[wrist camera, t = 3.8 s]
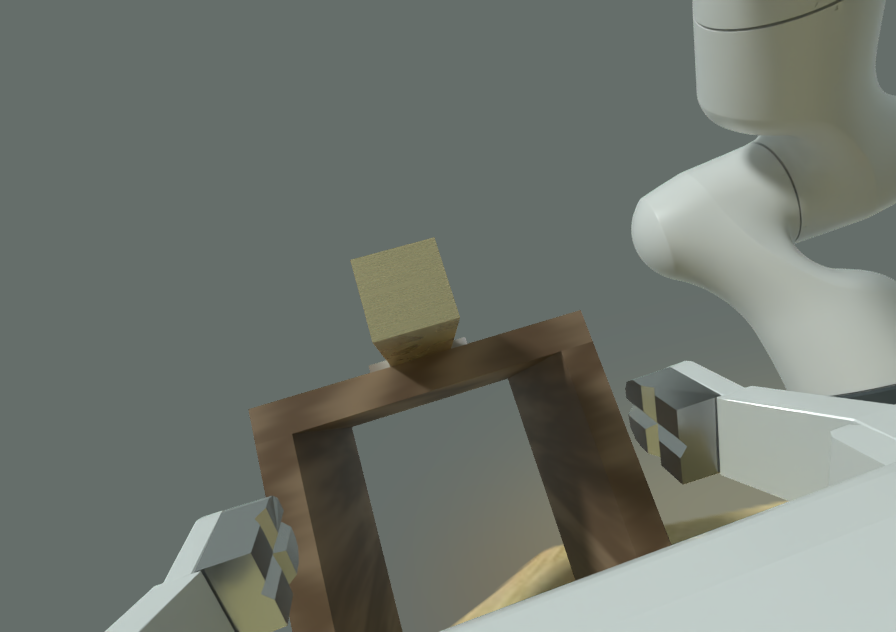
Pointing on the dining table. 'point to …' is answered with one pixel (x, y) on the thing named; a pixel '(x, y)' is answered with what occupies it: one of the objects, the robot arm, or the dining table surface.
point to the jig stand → (427, 380)
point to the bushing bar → (407, 301)
